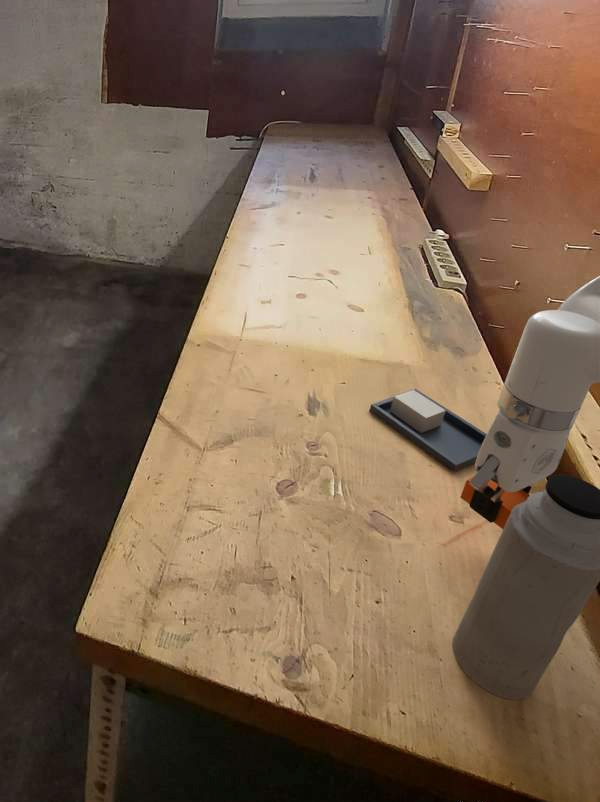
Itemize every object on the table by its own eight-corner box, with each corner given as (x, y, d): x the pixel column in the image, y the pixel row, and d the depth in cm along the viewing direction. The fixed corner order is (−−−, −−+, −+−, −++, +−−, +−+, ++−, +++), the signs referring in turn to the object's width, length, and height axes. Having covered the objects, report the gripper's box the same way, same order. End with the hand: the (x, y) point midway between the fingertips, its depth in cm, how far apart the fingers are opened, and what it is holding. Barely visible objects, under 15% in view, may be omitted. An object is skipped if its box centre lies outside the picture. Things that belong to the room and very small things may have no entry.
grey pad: (408, 404, 107) (413, 389, 106) (440, 425, 102) (446, 410, 100) (389, 411, 106) (393, 396, 104) (421, 433, 100) (426, 418, 99)
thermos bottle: (530, 649, 68) (626, 480, 55) (538, 715, 62) (648, 541, 49) (451, 616, 71) (525, 451, 59) (452, 675, 65) (534, 504, 53)
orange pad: (483, 486, 82) (490, 468, 81) (531, 519, 77) (540, 501, 75) (459, 497, 81) (466, 479, 79) (507, 532, 75) (515, 514, 74)
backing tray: (412, 396, 110) (415, 388, 109) (500, 453, 96) (503, 444, 95) (368, 412, 106) (370, 404, 105) (452, 474, 92) (456, 465, 91)
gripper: (524, 444, 65) (480, 550, 73) (614, 402, 70) (564, 506, 78) (460, 406, 71) (427, 507, 79) (548, 370, 76) (508, 469, 84)
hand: (495, 506), depth 78 cm, fingers closed on orange pad, 5 cm apart
